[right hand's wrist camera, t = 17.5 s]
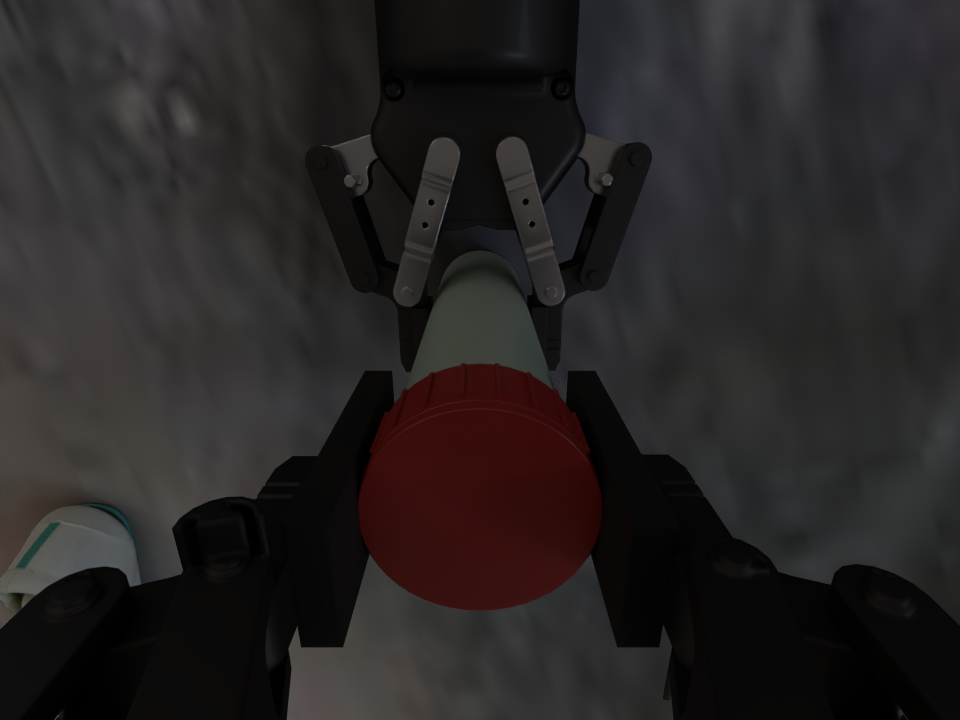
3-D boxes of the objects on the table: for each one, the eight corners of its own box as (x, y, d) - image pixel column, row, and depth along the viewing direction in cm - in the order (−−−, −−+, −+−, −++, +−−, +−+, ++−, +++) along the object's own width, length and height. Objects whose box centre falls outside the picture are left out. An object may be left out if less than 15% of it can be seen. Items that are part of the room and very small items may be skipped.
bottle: (534, 300, 29) (622, 520, 11) (469, 342, 30) (454, 606, 12) (491, 234, 28) (511, 362, 10) (424, 279, 29) (332, 473, 11)
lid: (522, 319, 11) (533, 357, 9) (619, 489, 13) (647, 555, 11) (333, 422, 12) (302, 478, 10) (445, 569, 14) (439, 644, 12)
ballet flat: (127, 738, 43) (54, 858, 35) (19, 494, 34) (-108, 586, 27) (226, 735, 43) (173, 854, 35) (144, 489, 34) (50, 580, 26)
